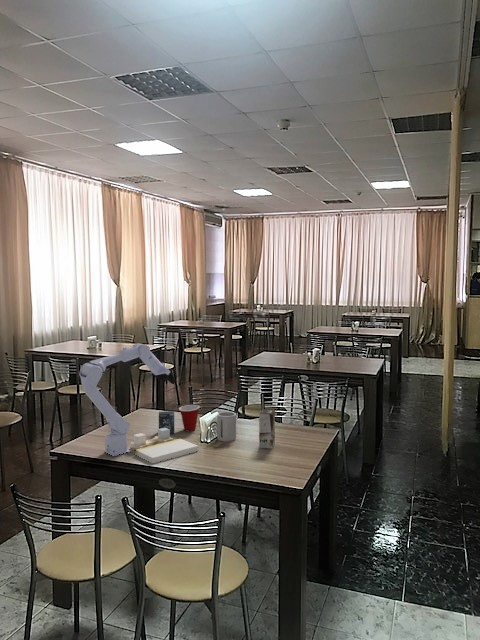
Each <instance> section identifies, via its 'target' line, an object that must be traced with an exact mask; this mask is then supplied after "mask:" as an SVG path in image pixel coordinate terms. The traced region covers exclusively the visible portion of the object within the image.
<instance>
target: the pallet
mask: <svg viewBox="0 0 480 640" xmlns="http://www.w3.org/2000/svg"><path fill="white" fill-rule="evenodd" d="M173 440H175V439H174V438H173V437H171V436H170V438H167V439H160V438H158V435H156V436H154V437H153V438H149V439H146V444H142V445H136V444H134V441H131V442H129V448H132V449H134V450H137V449H141V448H145V447H149V446H153V445H157V444H161V443H165V442H169V441H173ZM132 449H131V450H132ZM134 450H133V451H134Z"/></svg>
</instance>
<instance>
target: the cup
mask: <svg viewBox="0 0 480 640" xmlns="http://www.w3.org/2000/svg"><path fill="white" fill-rule="evenodd" d="M216 415H217V416H216V420H217V421H216V422H217V428H216V429H217V434H216V435H217V440H218V441H222V442H232V441H235V440H236V439H237V413H236V412H233V411H221V412H218V413H217V414H216Z"/></svg>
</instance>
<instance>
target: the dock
mask: <svg viewBox="0 0 480 640" xmlns="http://www.w3.org/2000/svg"><path fill="white" fill-rule="evenodd" d="M196 451H197V452H199V445H197V444H195V443H192V442H190V441H187V440H184V439H182V438H177V439H174V440H173V441H169V442H165V443H161V444H157V445H153V446H149V447H145V448H141V449H137V450H136V451H135V456H136V455H137V456H136V457H138V456H139V457H138V458H140V457H141V458H140V459H142V458H143V460H144V459H145V460H144V461H146V460H147V461H146V462H148V461H149V463H150V464H152V463H154V464H157V463H160V461H161V462H164V461H167V459H168V460H171V458H172V459H174V458H178V457H181V456H186V455H189V453H190V454H192V453H197V452H196Z"/></svg>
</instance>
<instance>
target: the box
mask: <svg viewBox="0 0 480 640" xmlns="http://www.w3.org/2000/svg"><path fill="white" fill-rule="evenodd" d="M161 428H167V429H170V435H175V411H174V410H173V411H172V410H169V411H159V412H158V429H161Z"/></svg>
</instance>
